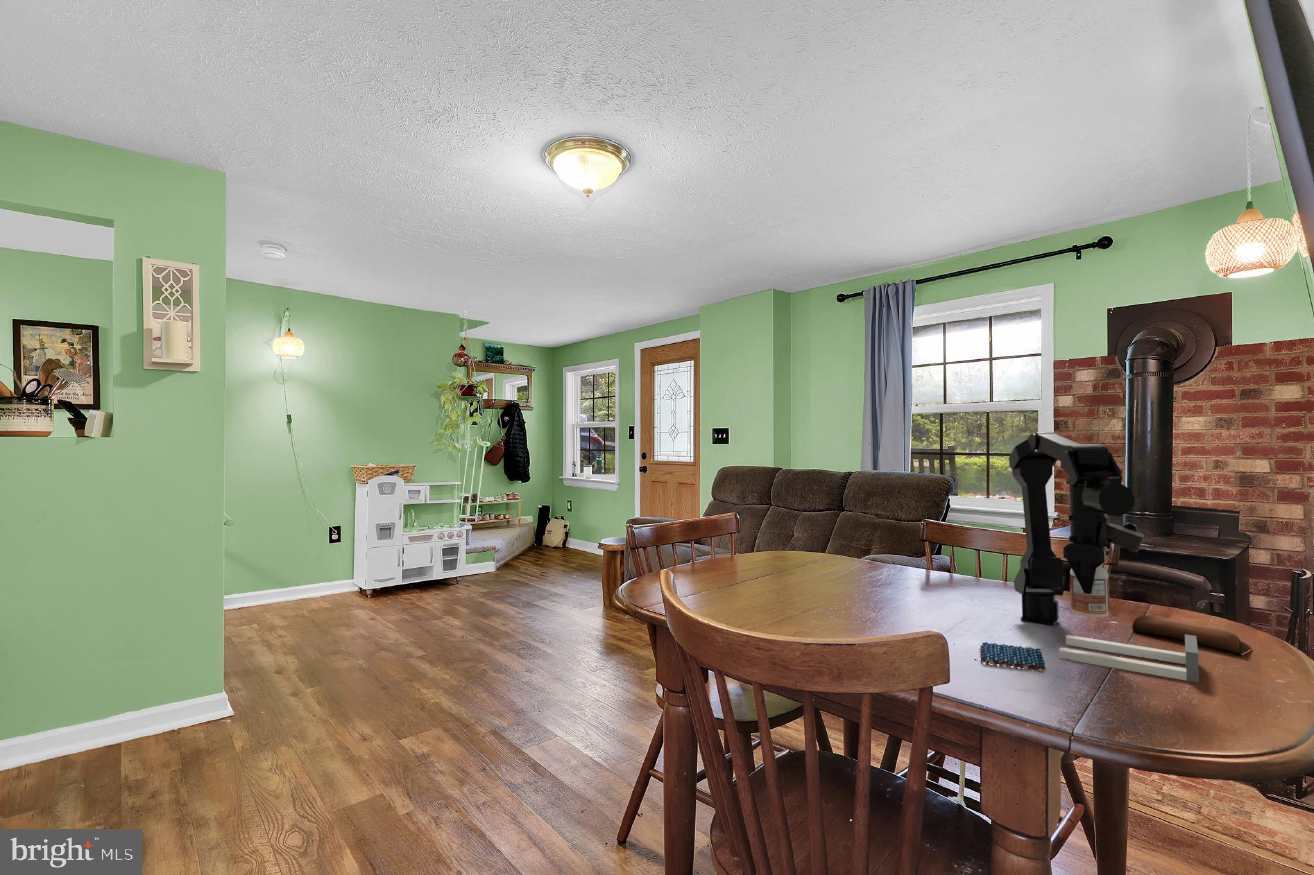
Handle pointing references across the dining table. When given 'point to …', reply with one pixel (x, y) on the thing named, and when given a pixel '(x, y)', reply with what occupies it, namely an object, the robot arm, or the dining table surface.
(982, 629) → the dining table surface
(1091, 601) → the pill bottle
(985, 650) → the woven mat
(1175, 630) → the sunglasses case
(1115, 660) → the guide track
